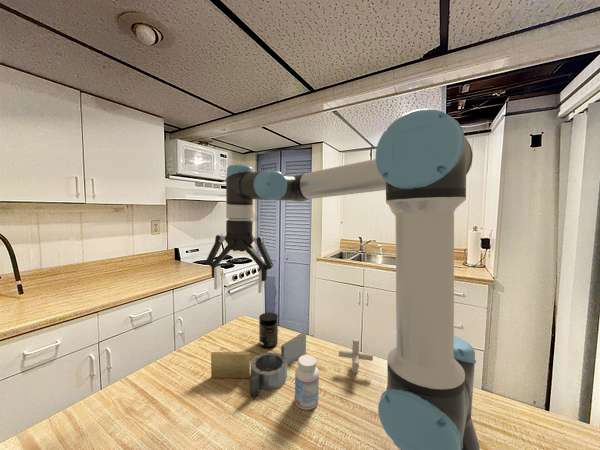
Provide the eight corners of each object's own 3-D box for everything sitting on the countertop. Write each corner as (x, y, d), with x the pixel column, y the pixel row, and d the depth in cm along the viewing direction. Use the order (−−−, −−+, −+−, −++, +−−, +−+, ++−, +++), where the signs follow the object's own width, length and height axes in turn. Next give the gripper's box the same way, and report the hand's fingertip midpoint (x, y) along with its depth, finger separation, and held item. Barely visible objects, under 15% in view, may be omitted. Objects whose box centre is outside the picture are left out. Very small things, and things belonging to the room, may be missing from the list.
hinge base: (316, 357, 82) (316, 337, 82) (259, 403, 63) (259, 377, 63) (293, 346, 89) (293, 327, 88) (234, 384, 70) (234, 360, 69)
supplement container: (281, 343, 91) (281, 316, 90) (267, 352, 86) (267, 322, 85) (269, 337, 95) (269, 311, 94) (255, 344, 90) (255, 316, 89)
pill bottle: (293, 393, 67) (294, 353, 66) (316, 392, 67) (317, 352, 66) (295, 412, 61) (296, 368, 60) (320, 410, 61) (321, 367, 60)
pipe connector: (373, 385, 70) (374, 351, 69) (337, 379, 72) (338, 346, 71) (370, 363, 80) (371, 333, 79) (339, 359, 82) (340, 329, 81)
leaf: (249, 377, 72) (249, 354, 72) (211, 377, 72) (210, 354, 72) (250, 374, 73) (249, 352, 73) (212, 374, 73) (212, 352, 73)
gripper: (283, 220, 75) (282, 288, 77) (205, 217, 78) (206, 282, 80) (278, 222, 68) (276, 297, 70) (192, 218, 71) (193, 290, 73)
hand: (238, 289), depth 75 cm, fingers open, 13 cm apart
